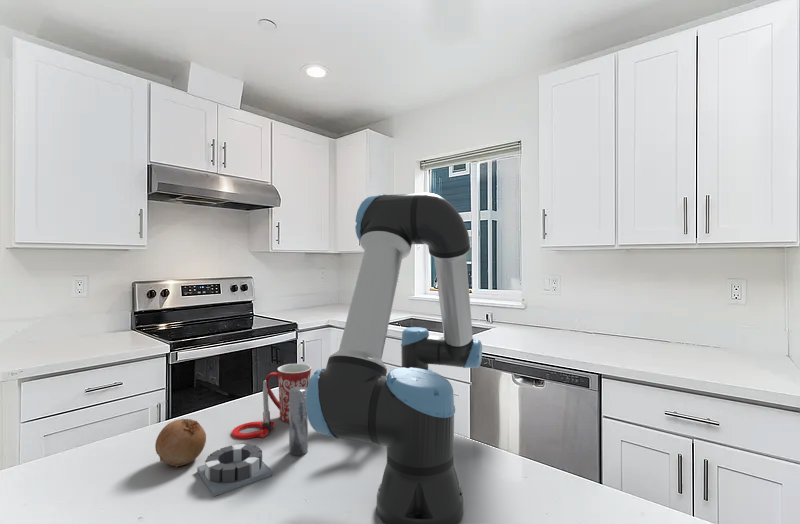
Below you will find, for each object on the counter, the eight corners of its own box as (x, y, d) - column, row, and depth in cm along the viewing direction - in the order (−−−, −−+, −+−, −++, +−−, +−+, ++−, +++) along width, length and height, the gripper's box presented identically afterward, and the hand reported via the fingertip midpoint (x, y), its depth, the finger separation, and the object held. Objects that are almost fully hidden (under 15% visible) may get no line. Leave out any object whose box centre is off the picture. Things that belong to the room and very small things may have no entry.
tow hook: (225, 440, 98) (263, 440, 97) (223, 387, 98) (261, 386, 97) (241, 426, 106) (276, 425, 106) (238, 376, 106) (274, 375, 106)
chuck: (272, 475, 82) (272, 458, 82) (213, 496, 75) (213, 477, 74) (251, 454, 90) (251, 438, 90) (197, 471, 83) (197, 454, 83)
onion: (200, 473, 88) (221, 432, 88) (156, 481, 80) (179, 436, 80) (182, 445, 93) (202, 406, 93) (140, 450, 86) (161, 407, 86)
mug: (316, 412, 115) (316, 364, 114) (303, 425, 106) (303, 373, 105) (274, 408, 117) (274, 361, 116) (258, 421, 108) (258, 370, 108)
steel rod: (310, 452, 91) (310, 390, 91) (294, 458, 89) (294, 394, 88) (302, 446, 94) (302, 385, 94) (286, 451, 92) (286, 389, 91)
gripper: (419, 420, 99) (344, 446, 85) (360, 393, 118) (291, 411, 104) (419, 389, 99) (344, 411, 85) (360, 367, 118) (291, 381, 104)
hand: (315, 411), depth 95 cm, fingers open, 13 cm apart
